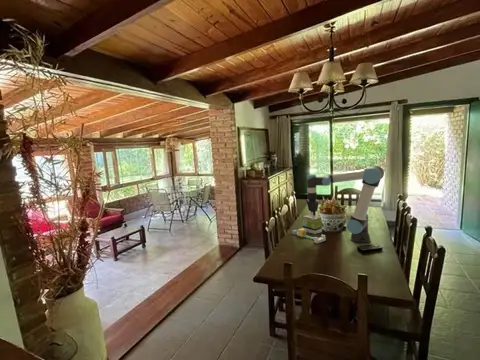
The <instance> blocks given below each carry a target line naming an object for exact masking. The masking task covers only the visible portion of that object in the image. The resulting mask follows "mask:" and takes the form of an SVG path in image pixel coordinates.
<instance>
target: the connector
mask: <svg viewBox="0 0 480 360" xmlns="http://www.w3.org/2000/svg"><path fill="white" fill-rule="evenodd" d="M297 232H298V229H293V230H291V234H292V235H294V236H295V235H296V233H297ZM296 236H297V235H296Z"/></svg>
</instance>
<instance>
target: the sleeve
mask: <svg viewBox="0 0 480 360" xmlns="http://www.w3.org/2000/svg"><path fill="white" fill-rule="evenodd" d="M297 230H298V235H297V236H298V237H301V238H304V237H303V234H304V235H307V232H306V229H303V227H302V228H298V229H297Z"/></svg>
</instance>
